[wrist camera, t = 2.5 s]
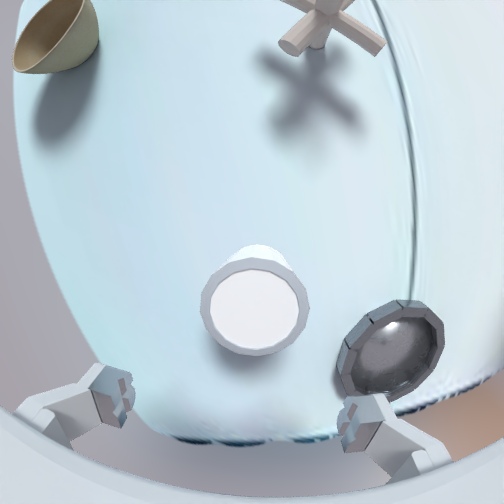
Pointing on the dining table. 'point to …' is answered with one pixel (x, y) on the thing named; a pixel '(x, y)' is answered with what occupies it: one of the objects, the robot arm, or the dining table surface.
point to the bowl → (391, 350)
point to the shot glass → (254, 302)
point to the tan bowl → (57, 38)
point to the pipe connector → (327, 27)
